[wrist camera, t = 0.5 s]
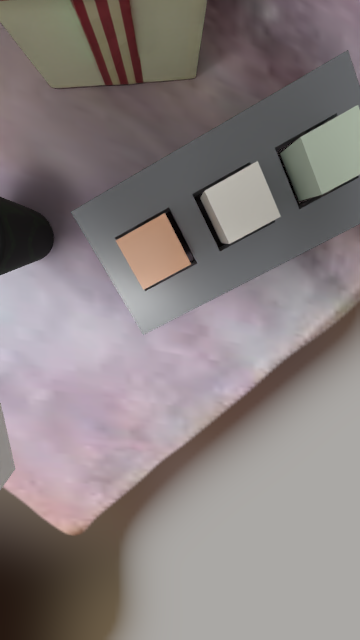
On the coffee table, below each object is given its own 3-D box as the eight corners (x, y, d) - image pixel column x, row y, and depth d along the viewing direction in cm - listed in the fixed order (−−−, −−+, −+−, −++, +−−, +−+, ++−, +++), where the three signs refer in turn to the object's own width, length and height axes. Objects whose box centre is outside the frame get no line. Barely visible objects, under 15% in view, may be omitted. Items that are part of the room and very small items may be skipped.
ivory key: (200, 198, 30) (204, 190, 25) (244, 173, 30) (257, 160, 25) (221, 242, 31) (229, 244, 26) (264, 219, 31) (280, 216, 26)
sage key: (279, 153, 29) (300, 137, 24) (327, 127, 29) (358, 104, 24) (298, 201, 30) (322, 194, 25) (345, 176, 30) (377, 165, 25)
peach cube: (125, 240, 31) (115, 240, 26) (166, 216, 30) (164, 212, 26) (148, 281, 32) (143, 289, 27) (189, 260, 32) (191, 264, 27)
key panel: (83, 214, 33) (70, 211, 29) (326, 74, 30) (348, 50, 26) (146, 324, 36) (143, 335, 33) (371, 208, 33) (397, 204, 29)
